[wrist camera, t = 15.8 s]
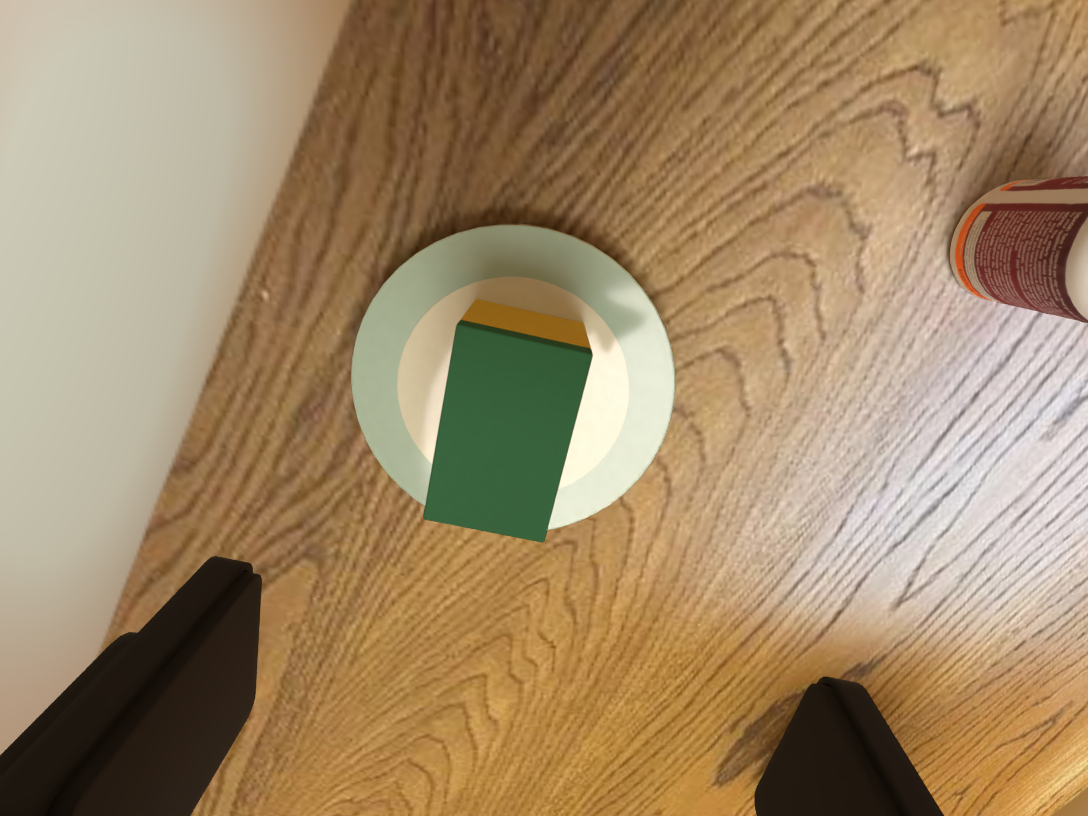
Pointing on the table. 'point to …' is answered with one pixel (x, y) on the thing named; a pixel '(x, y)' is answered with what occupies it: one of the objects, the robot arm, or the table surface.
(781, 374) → the table surface
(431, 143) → the table surface
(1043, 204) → the pill bottle
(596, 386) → the plate
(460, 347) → the sponge
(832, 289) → the table surface
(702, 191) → the table surface
